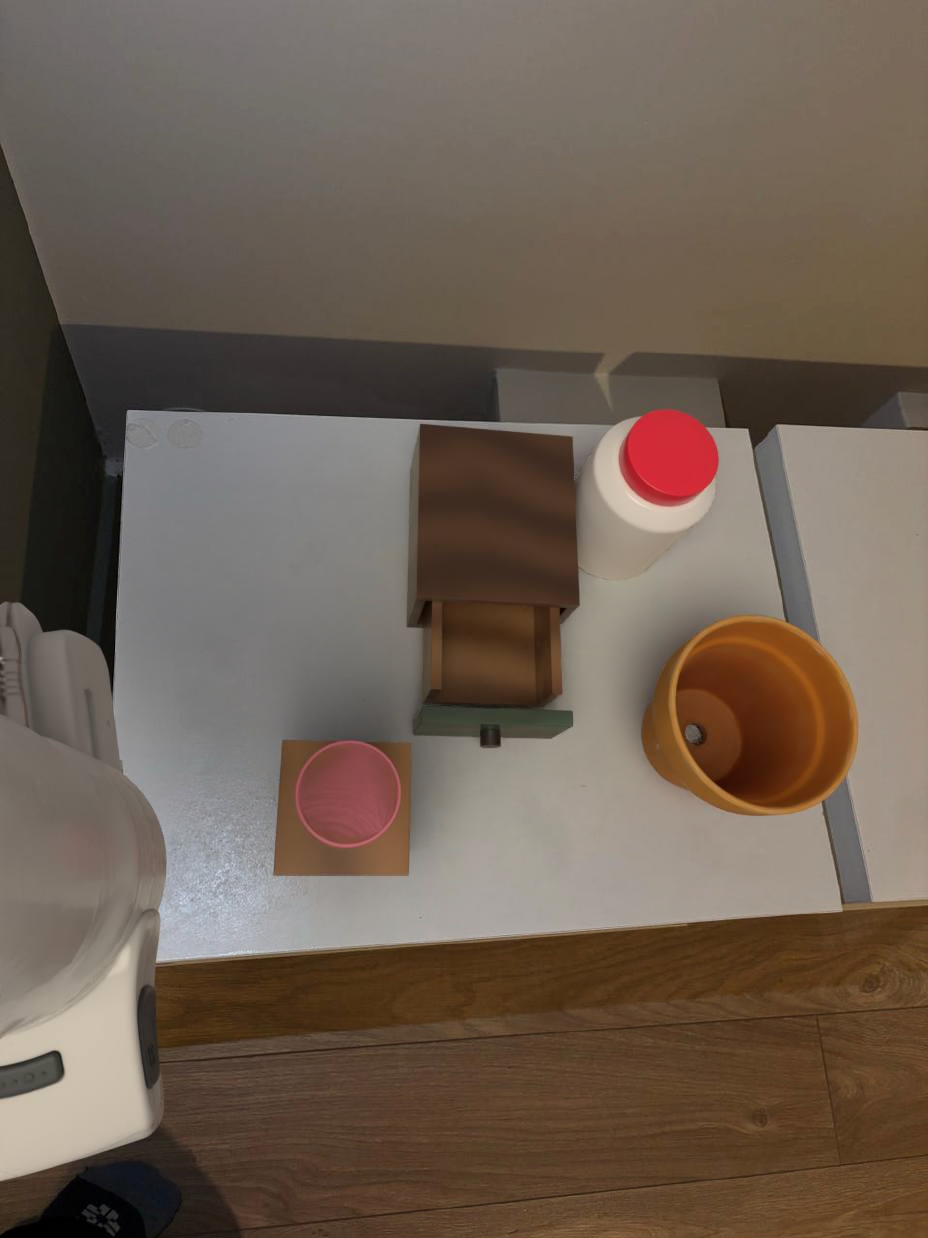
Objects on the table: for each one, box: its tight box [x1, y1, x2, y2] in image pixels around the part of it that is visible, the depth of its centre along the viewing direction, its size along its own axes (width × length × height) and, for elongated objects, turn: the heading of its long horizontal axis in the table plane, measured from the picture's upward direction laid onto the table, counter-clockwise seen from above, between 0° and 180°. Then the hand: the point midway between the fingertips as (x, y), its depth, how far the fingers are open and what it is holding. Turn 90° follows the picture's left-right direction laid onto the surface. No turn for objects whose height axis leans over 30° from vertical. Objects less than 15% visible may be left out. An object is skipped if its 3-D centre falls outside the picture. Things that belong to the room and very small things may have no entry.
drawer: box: [412, 601, 574, 749], centre depth 64 cm, size 15×11×6 cm
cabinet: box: [406, 423, 581, 629], centre depth 67 cm, size 15×13×8 cm
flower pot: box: [640, 614, 859, 817], centre depth 63 cm, size 14×14×13 cm
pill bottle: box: [574, 408, 720, 581], centre depth 67 cm, size 10×10×14 cm
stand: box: [272, 739, 413, 877], centre depth 56 cm, size 8×8×14 cm
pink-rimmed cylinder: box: [295, 739, 401, 850], centre depth 44 cm, size 5×5×10 cm
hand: (119, 873), depth 40 cm, fingers open, 8 cm apart
